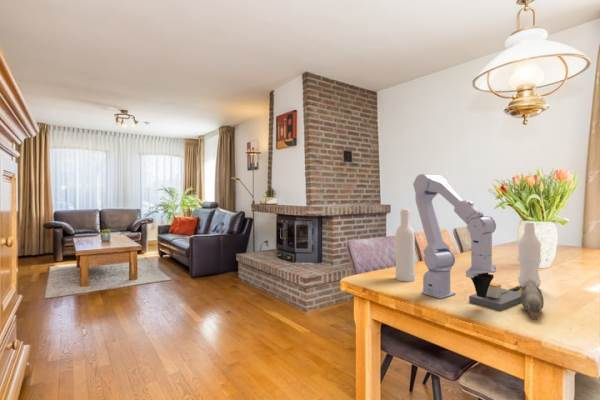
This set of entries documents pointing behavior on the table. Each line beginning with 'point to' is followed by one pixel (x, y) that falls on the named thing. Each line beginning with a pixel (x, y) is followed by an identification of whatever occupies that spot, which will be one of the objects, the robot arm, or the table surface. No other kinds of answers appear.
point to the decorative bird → (532, 299)
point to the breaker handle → (494, 290)
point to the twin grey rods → (515, 288)
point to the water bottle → (529, 256)
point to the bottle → (405, 249)
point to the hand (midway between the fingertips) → (481, 296)
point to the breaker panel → (498, 300)
